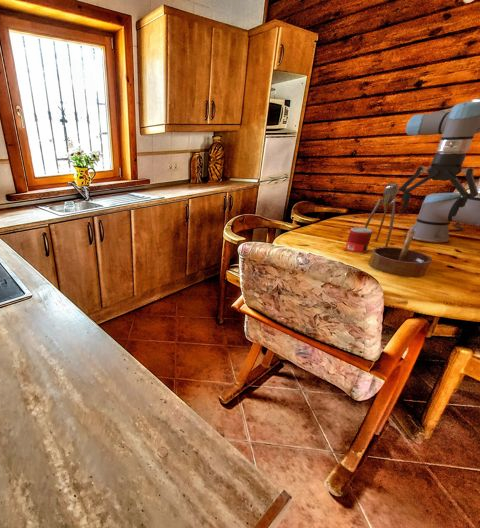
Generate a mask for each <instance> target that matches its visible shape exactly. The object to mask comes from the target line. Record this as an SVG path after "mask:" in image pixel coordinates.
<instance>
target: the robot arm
mask: <svg viewBox="0 0 480 528" xmlns="http://www.w3.org/2000/svg"><path fill="white" fill-rule="evenodd" d="M405 133H406V134H407V135H408V136H417V137H418V136H430V135H432V136H433V135H441V137H440V140H439V143H438V144H437V148H436V153H435V154H434V156H433V158H432V161H431V163H430V166H429V167H425V166H422V165H421V166H418V167H417V169H416V171H415V172H414V174H412V176H410V177H409V179H407V180H406V181H405V182H404V183H403V184H402V185H401V186H400V187H399V188H398V192H402V193H403V194H402V197H401V202H403V205H402V207H401V211H407V210H408V206H409V203H410V200H411V198H412V194H413V192H412V191H414V190H415V189H417V188H419V187H420V186H422V185H423V184H425V183H427V182H428V181H430V180H432V181H442V182H447V181H449V182H450V183H452V185H453V186H454V188H455V189H456V190H457V192H437V193H430V194H428V195H426V196H425V197H424V200H423V202H422V203H421V207H420V210H419V212H418V216H417V217H416V221H415V223H414V224H413V225H412V226H411V227H410V228H409V230H407V233H406V234H405V238H406V237H407V235H408V232H409V231H414V232H415V233H414V236H413V239H412V241H413V240H414V241H417V242H418V241H419V242H423V243H430V244H445V243H447V242H448V241H449V239H450V232H457V231H464V227H463V226H460V225H459V224H464V225H469V226H475V227H480V178H479V179H478V181H477V183H476V181H475V177H474V172H475V168H474V167H469V168H463V164H464V161H465V159H466V158H467V157H466V156H467V154H466V152H469V149H470V147H471V145H472V142H473V141H474V137H475V134H479V133H480V97H476V98H473V99H470V100H466V101H465V102H460V103H457V104H455V105H454V106H453V107H450V108H446V109H442V110H439V111H435V112H430V113H421V114H414V115H413V116H411V117H410V118H409V119H408V121H407V124H406V127H405ZM425 172H427V174H428V175H427V176H425V177H424V178H422V179H421V180H419V181H418V182H416V183H414V184H413V185H411V184H412V183H413V182H414V181H416V179H417V178H418V177H419V176H420V175H421V174H424V173H425ZM460 173H462V175H464V176H465V180H466V182H467V186H468V189H469V192H468V191H467V189H466V188H465V186H464V185H463V184H462V183H461V181H460V180H459V178H458V176H457V175H459V174H460ZM410 185H411V186H410ZM409 186H410V187H409ZM452 222H453V223H454V224H453V225H454V227H457V228H452V229H449V226H450V223H452Z"/></svg>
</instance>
